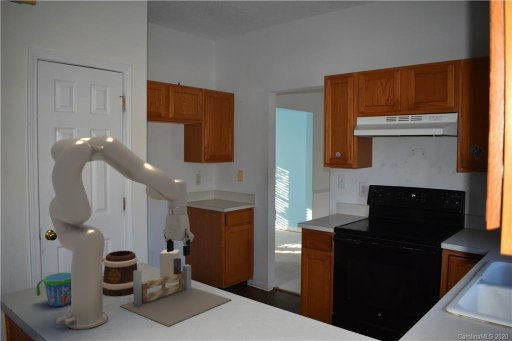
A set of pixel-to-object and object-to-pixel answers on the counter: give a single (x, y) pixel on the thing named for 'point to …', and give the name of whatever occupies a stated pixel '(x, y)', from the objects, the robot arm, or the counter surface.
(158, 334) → the counter surface
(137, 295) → the gate frame
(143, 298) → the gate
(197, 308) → the taupe mat
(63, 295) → the snack cup
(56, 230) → the robot arm
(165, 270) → the supplement box
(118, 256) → the mug
